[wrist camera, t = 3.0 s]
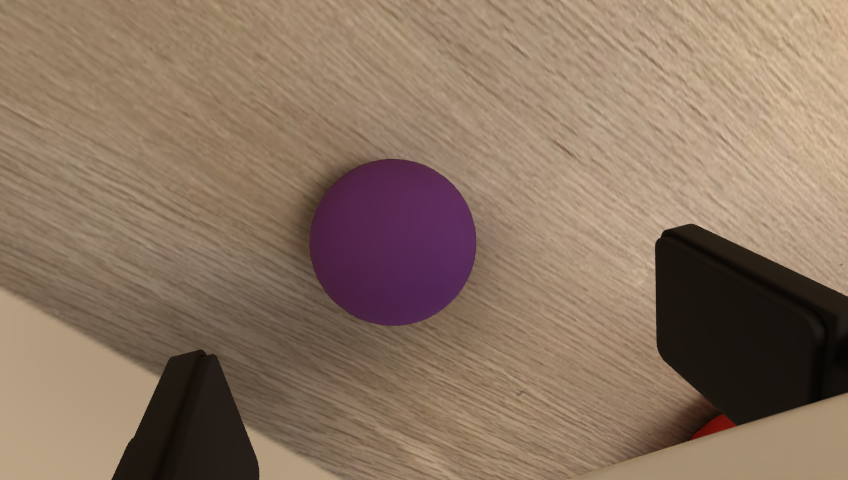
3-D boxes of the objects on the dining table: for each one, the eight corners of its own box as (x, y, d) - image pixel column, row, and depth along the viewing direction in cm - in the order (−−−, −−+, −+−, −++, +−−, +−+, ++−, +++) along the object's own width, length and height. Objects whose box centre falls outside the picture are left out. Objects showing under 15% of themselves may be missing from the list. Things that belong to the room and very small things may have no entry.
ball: (301, 278, 19) (301, 356, 14) (316, 135, 17) (321, 171, 12) (438, 286, 20) (479, 361, 15) (463, 154, 18) (518, 193, 14)
